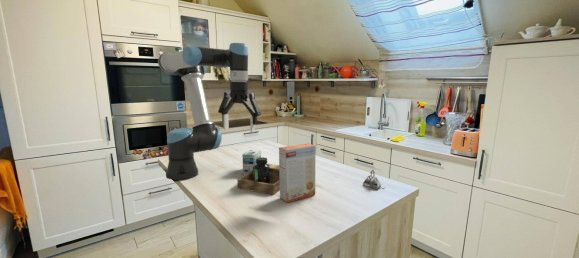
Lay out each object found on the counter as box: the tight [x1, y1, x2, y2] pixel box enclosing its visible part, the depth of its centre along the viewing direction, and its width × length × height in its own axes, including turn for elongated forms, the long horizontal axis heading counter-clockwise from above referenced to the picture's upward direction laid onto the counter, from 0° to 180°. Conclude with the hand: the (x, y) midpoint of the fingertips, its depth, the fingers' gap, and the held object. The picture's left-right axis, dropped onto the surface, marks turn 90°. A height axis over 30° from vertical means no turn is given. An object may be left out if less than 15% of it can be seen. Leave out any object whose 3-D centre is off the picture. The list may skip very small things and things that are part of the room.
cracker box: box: [278, 143, 316, 203], centre depth 107 cm, size 14×6×21 cm, turn 122°
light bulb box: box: [241, 149, 262, 176], centre depth 139 cm, size 11×7×11 cm, turn 168°
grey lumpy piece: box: [362, 169, 386, 190], centre depth 122 cm, size 9×9×8 cm
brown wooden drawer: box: [236, 172, 280, 195], centre depth 119 cm, size 18×12×4 cm, turn 66°
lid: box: [251, 163, 279, 175], centre depth 129 cm, size 18×12×3 cm, turn 66°
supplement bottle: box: [254, 156, 270, 184], centre depth 118 cm, size 7×7×12 cm
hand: (239, 130), depth 118 cm, fingers open, 13 cm apart
